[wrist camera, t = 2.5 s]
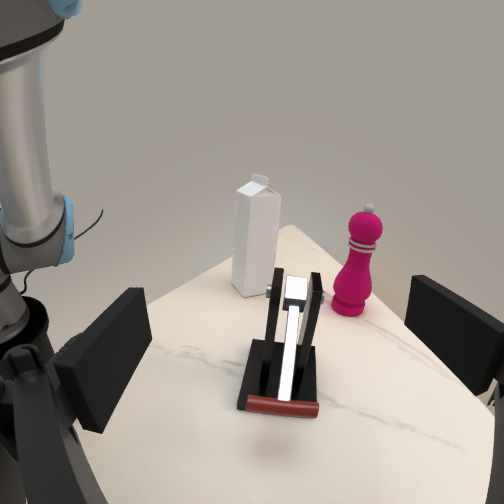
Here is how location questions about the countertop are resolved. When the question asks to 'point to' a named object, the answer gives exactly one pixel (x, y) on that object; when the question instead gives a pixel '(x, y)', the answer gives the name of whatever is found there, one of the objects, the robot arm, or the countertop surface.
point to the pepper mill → (357, 264)
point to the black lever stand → (270, 353)
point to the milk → (255, 236)
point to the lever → (288, 360)
